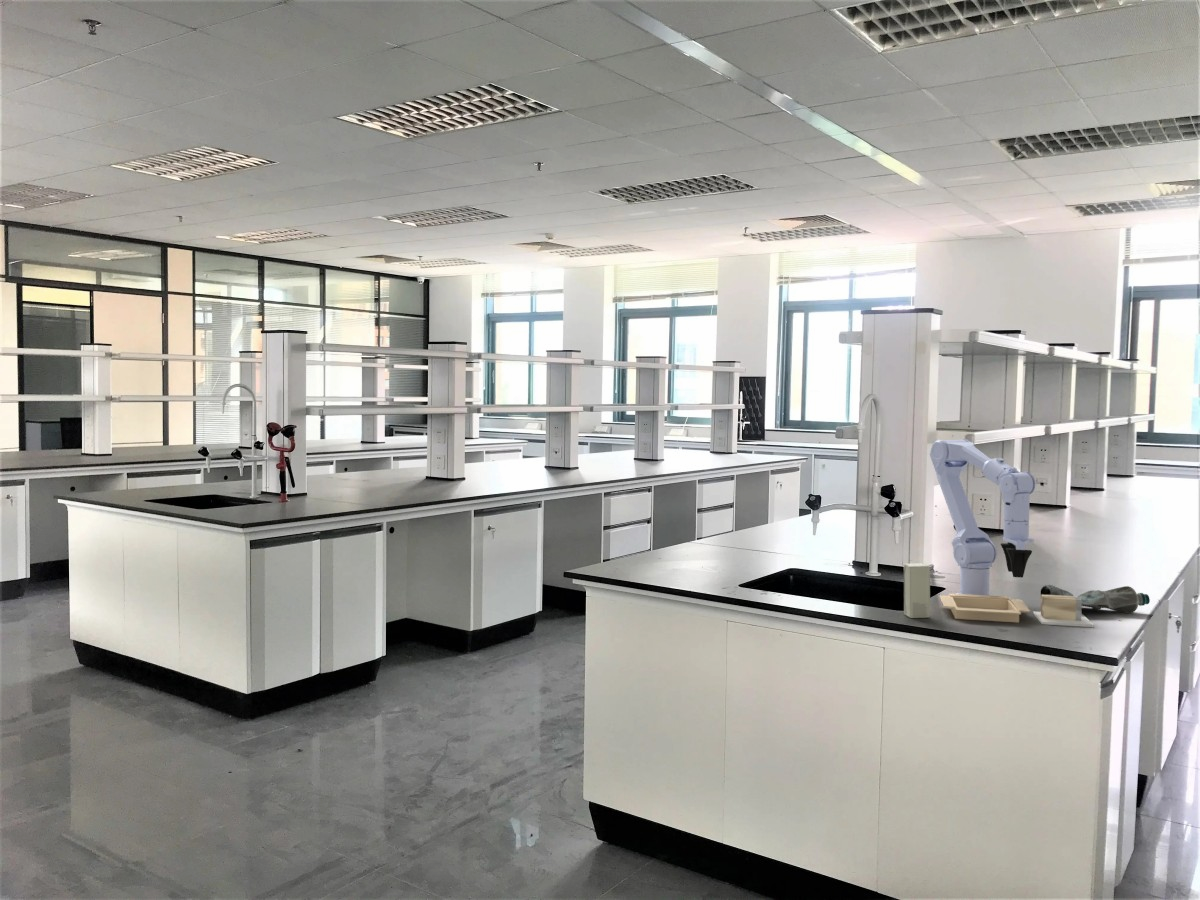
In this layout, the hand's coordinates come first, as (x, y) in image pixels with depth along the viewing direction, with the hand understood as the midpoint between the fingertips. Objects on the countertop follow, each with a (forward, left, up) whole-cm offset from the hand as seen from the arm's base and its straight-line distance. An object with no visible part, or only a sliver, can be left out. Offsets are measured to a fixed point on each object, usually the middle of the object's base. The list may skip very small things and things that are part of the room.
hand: (1015, 574), depth 223 cm
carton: (+5, -8, -9) cm, 13 cm away
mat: (+7, +10, -9) cm, 15 cm away
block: (+7, +9, -9) cm, 14 cm away
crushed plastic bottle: (-5, +19, -10) cm, 22 cm away
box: (+12, -24, -10) cm, 28 cm away
